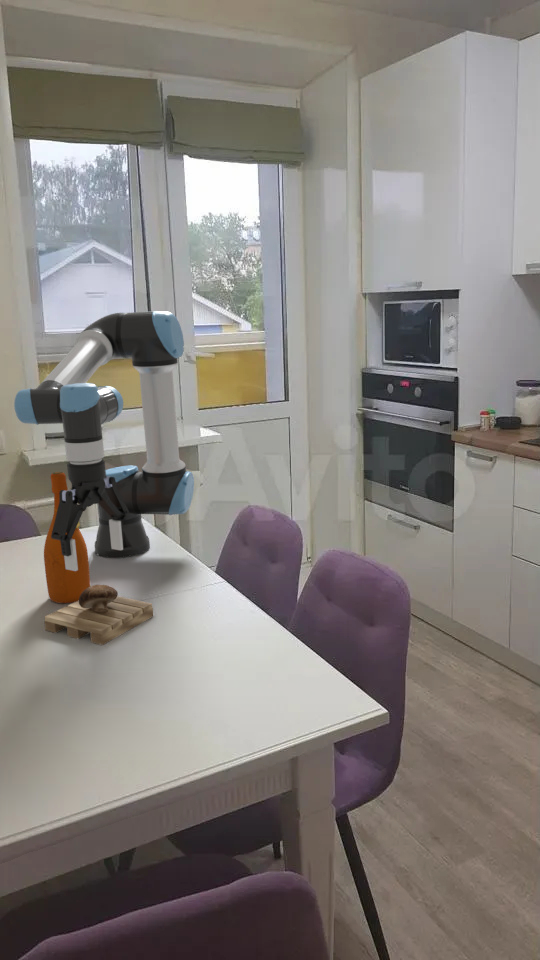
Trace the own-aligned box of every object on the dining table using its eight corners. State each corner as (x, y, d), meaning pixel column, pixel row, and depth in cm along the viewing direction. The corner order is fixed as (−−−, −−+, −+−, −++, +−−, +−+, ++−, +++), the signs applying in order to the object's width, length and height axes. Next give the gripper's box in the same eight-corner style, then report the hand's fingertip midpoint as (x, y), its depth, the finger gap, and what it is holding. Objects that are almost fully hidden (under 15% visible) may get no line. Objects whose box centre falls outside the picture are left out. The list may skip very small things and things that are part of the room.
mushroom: (111, 604, 152) (103, 576, 154) (77, 619, 153) (69, 591, 155) (127, 608, 160) (119, 581, 162) (94, 622, 160) (86, 595, 162)
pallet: (98, 603, 170) (97, 591, 169) (153, 616, 162) (152, 603, 161) (45, 630, 156) (43, 616, 156) (102, 645, 148) (101, 631, 147)
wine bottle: (66, 608, 167) (53, 478, 161) (39, 599, 173) (25, 474, 167) (100, 594, 175) (89, 470, 168) (73, 586, 181) (61, 466, 174)
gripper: (113, 447, 163) (121, 539, 168) (24, 472, 142) (37, 576, 148) (140, 449, 159) (147, 543, 165) (52, 475, 139) (64, 582, 144)
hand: (95, 559), depth 156 cm, fingers open, 13 cm apart
